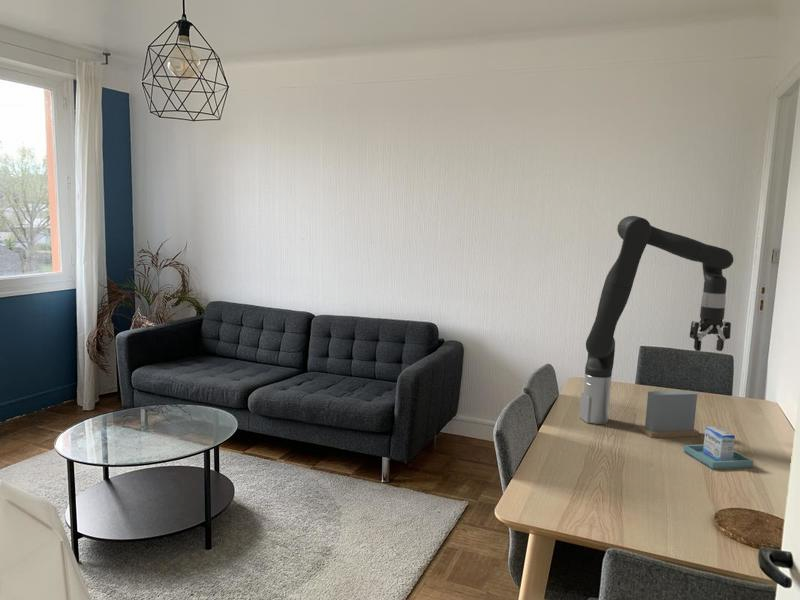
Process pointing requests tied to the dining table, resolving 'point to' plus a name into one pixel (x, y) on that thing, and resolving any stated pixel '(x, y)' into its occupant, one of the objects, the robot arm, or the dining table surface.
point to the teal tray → (713, 464)
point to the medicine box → (718, 444)
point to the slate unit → (670, 414)
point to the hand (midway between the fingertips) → (708, 350)
